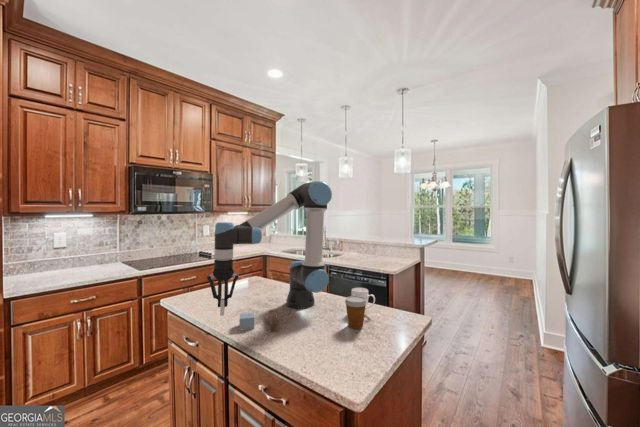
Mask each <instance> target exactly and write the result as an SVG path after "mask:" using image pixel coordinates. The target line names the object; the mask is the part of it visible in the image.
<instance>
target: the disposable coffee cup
mask: <svg viewBox="0 0 640 427" xmlns="http://www.w3.org/2000/svg"><path fill="white" fill-rule="evenodd" d="M344 302H345V308H346V316H347V325H348V328H349V329H353V330H359V329H363V327H364V321H365V320H364V319H365V313H366V310H365V306H366V304H367V302H366V299H365V298H363V297H360V296H351V295H350V296H346V298H345V300H344ZM367 305H368V304H367Z"/></svg>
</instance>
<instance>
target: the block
mask: <svg viewBox="0 0 640 427" xmlns="http://www.w3.org/2000/svg"><path fill="white" fill-rule="evenodd" d="M238 324H239V327H238V328H239V329H238V330H239V331H242V330H241V329H250V330H255V312H245V313H243V312H242V313H240V314H239V323H238Z"/></svg>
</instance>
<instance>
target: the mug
mask: <svg viewBox="0 0 640 427" xmlns="http://www.w3.org/2000/svg"><path fill="white" fill-rule="evenodd" d="M350 294H351V295H350V296H360V297H363V298H365V299H366V302H367V304H366V306H365V311H366V310H368V309H369V308H371V307H372V306H374V305H375V302H376V297H375V295H374V294H369V289H368V288H366V287H353V288H351V293H350ZM369 297H372V298H373V302H372V304H370V305H369V306H368V302H369ZM367 306H368V307H367Z"/></svg>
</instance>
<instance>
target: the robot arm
mask: <svg viewBox="0 0 640 427" xmlns="http://www.w3.org/2000/svg"><path fill="white" fill-rule="evenodd" d="M332 194H333V193H332V189H331V187H330V186H329V184H327V183H326V182H324V181H319V180H317V181H316V180H314V181H310V182H305V183H303V184H300V185H299V186H298V187H296V188H294V189H293V190H291V191H290V192H288V193H287V195H286V196H285V197H283V198H282V199H280V200H278V201H277V202H275V203H274V204H272V205H270V206H269V207H267V208H265V209H263V210H262V211H260V212H258V213H257V214H255V215H253V216H252V217H250V218H248V219H247V220H245V221H244V222H242V223H240V224H236V225H235V224H234V222H225V221H224V222H223V221H222V222H221V221H220V222H217V223H216V224H215V229H214V257H213V258H214V260H213V261H214V262H213V271H212V273H210V274H209V275H207V277H206V279H207V280H208V282H209V285H210V288H211V294H212V298H213V299H216V300H217V307H218V308H220V310H219V311H220V314H219V315H220V316H225V313H226V307H228V302H229V301H228V300H229V299H231V298H232V297H233V295H234V294H233V293H234V290H235V286H236V283H237V281H238V279H239V276H240V274H237V273H235V271H234V259H233V258H234V245H255V244H256V245H257V244H260V243H261V242H262V238H263V234H262V230H263V229H265V228H266V227H268V226H269V225H271V224H273V223H274V222H276V221H277V220H279V219H280V218H282V217H283V216H285V215H287V214H289V213H291V212H292V211H293V210H295V211H296V210H299V209H301V208H303V209H304V211H305V212H306V223H305V244H304V245H305V248H304V250H305V251H304V260H296V261H292V262H290V264H289V291H288V294H287V297H286V303H285V304H286V306H287V307H289V308H293V309H308V308H311V307H313V306H314V305H315V304H316V303H315V297H314V293H315V294H317V293H321V292H322V291H324V290H325V288H327V286H328V284H329V281H330V279H329V274H328V272H327V271H326V263H325V262H324V261H323V249H324V246H323V245H324V218H325V212H326V211H327V210H328V204H329V203H330V202H331V200H332V196H333V195H332ZM214 278H215V279H216V280H217V290H216V285H215V280H214ZM231 278H232V279H233V281H232V283H231V287H230V291H229V280H231ZM223 282H224V288H223V289H224V295H223V296H224V297H223V298H222V293H223V292H222V290H223V289H222V287H223Z"/></svg>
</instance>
